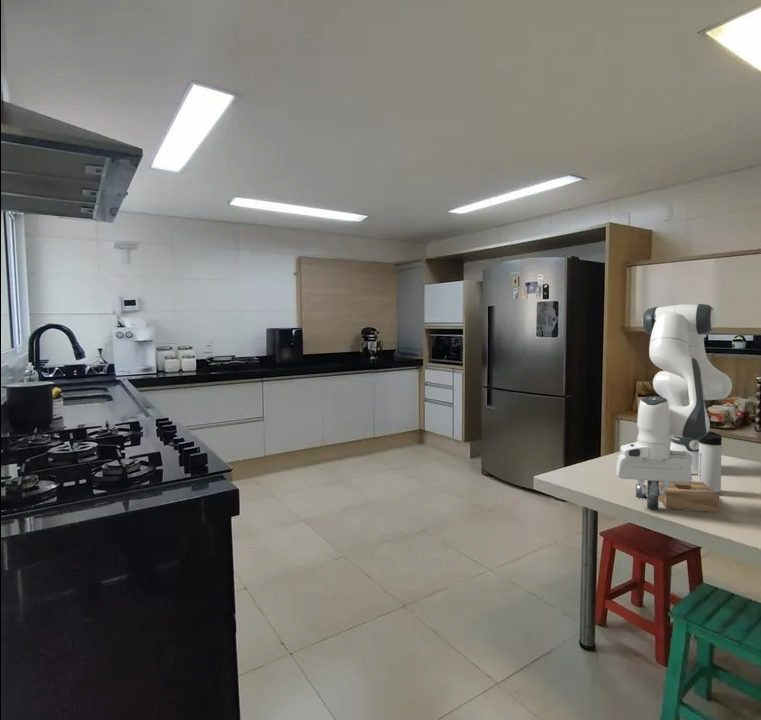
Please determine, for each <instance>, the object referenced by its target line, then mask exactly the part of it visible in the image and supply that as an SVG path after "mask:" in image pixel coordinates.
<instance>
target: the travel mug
mask: <svg viewBox="0 0 761 720" xmlns="http://www.w3.org/2000/svg"><path fill="white" fill-rule="evenodd" d="M722 437H723V436H722V435H721V434H719V433H716V432H715V431H708V434H707V435H706V436H704V437H702V438H701V439H699V469H698V474H697V476H698V479H697V480H698V481H697V482H703V483H704V484H705V485H707V486H708V487H709V488H710V489H711V490H713V491H714V492H715V493H716V494H717V495H719V496H720V495H721V492H722V490H721V487H722V486H721V485H722V481H721V480H722V451H723V450H722V449H723V448H722V445H723V443H722V439H723V438H722Z"/></svg>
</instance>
